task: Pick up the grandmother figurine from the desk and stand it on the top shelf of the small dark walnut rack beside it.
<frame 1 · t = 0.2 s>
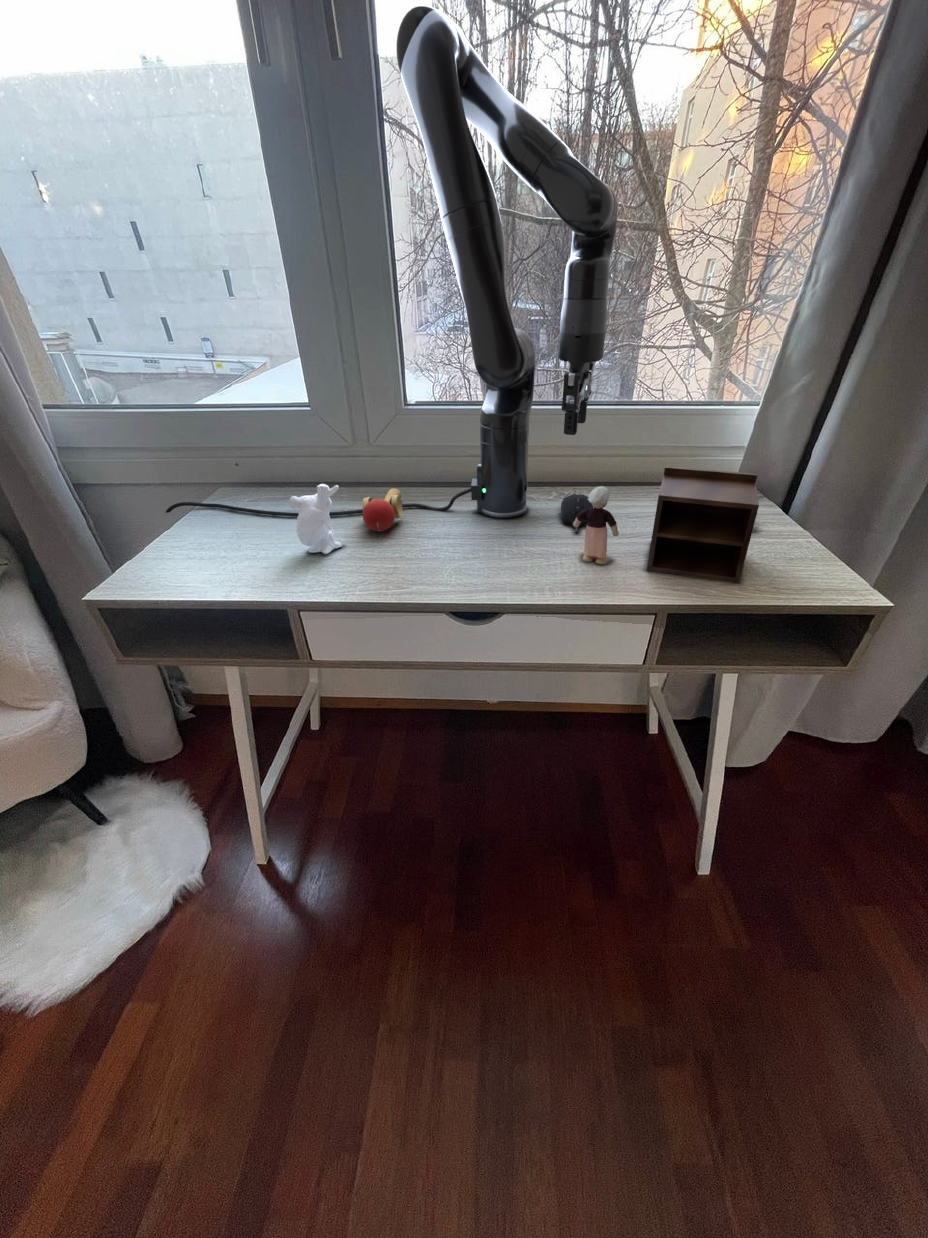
hand: (574, 428, 107), 17 cm above the table, tool pointing down, fingers open, 8 cm apart
grandmother figurine: (592, 560, 100), on the table
rack: (692, 562, 98), on the table
gaming mouse: (576, 519, 115), on the table
soldier figure: (735, 525, 111), on the table
kendama: (386, 518, 118), on the table
koala figurine: (323, 550, 105), on the table
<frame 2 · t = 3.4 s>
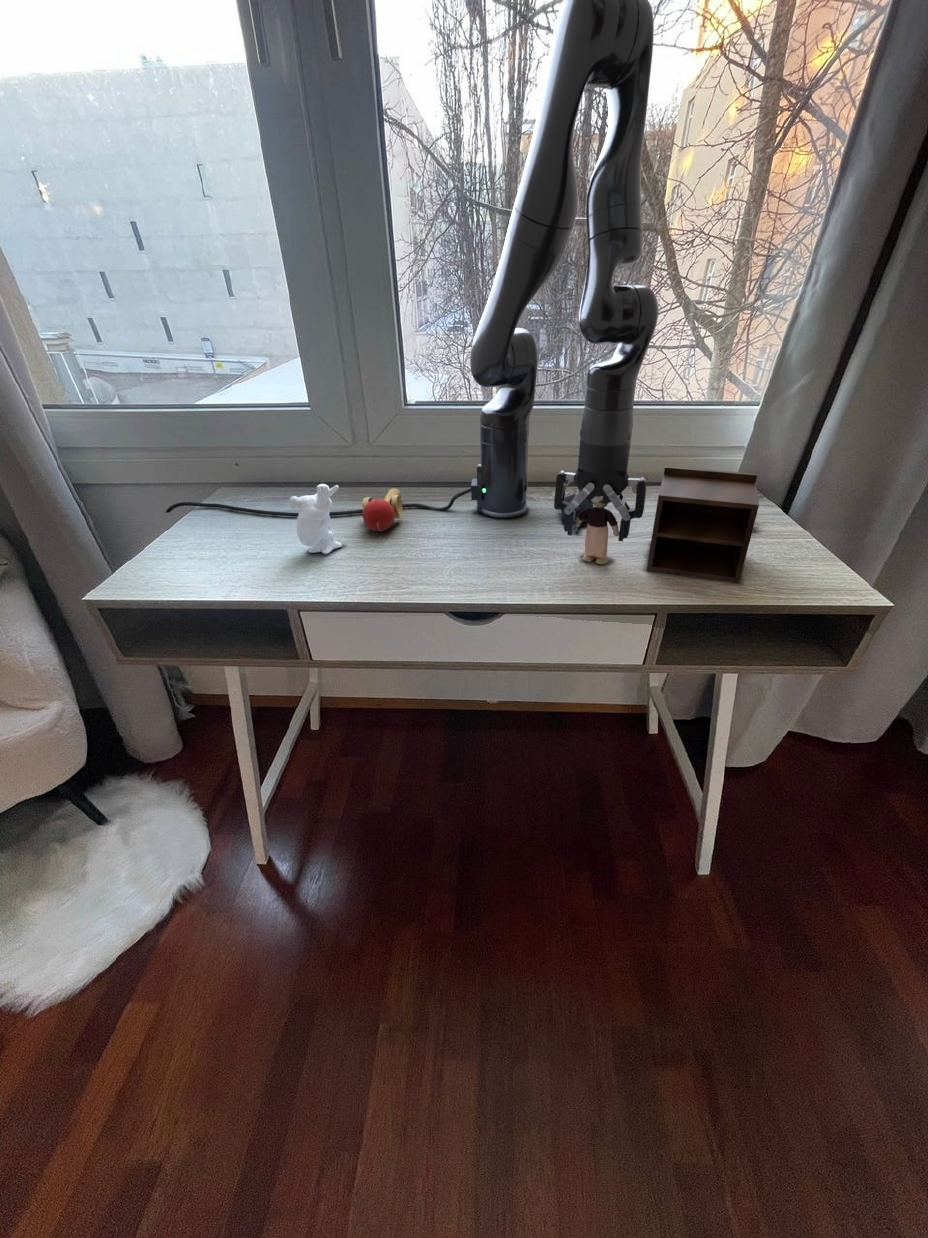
hand: (595, 536, 98), 4 cm above the table, tool pointing down, fingers closed on grandmother figurine, 8 cm apart
grandmother figurine: (592, 560, 100), on the table, touching gripper
everything else where it was.
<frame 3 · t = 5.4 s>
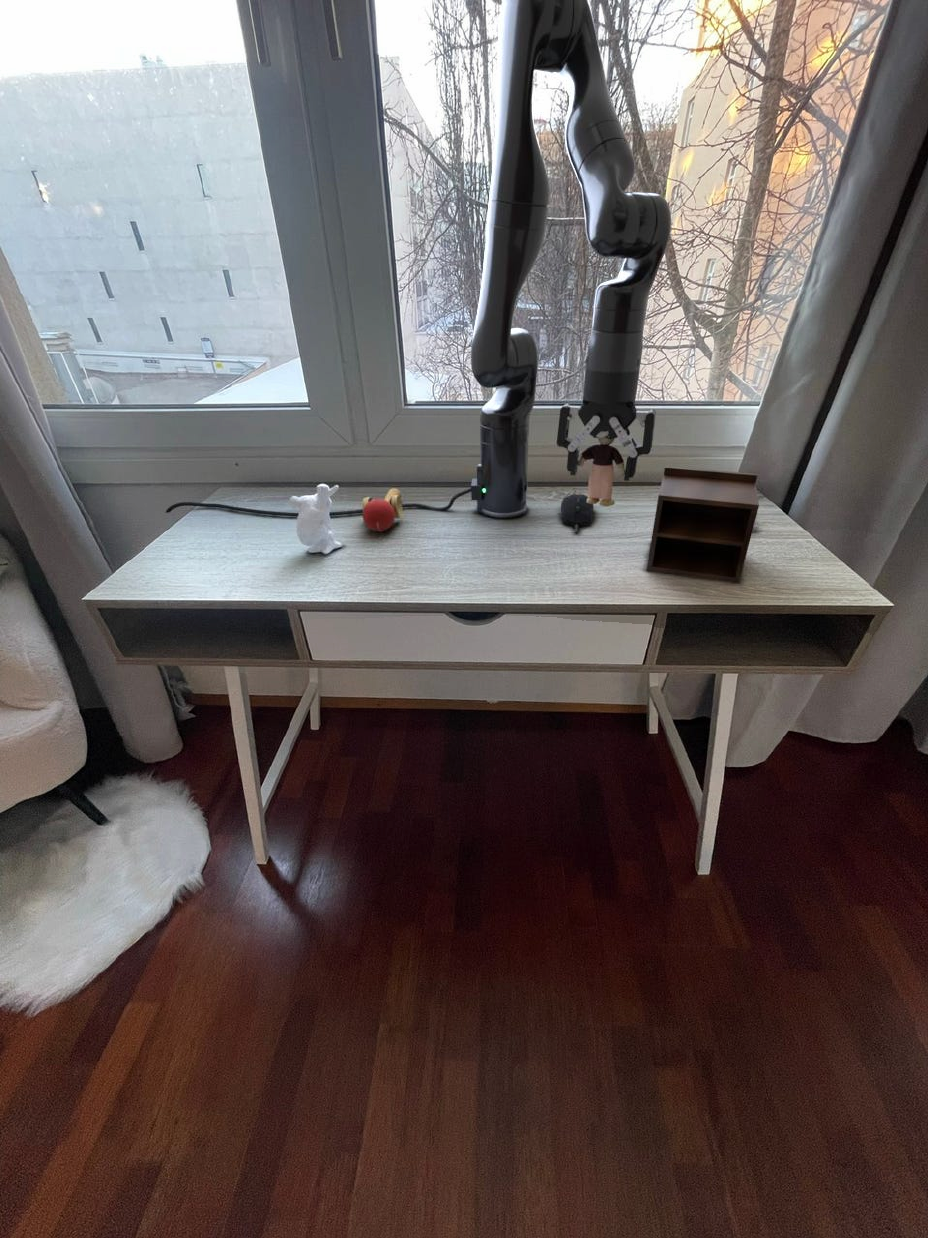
hand: (599, 476, 93), 14 cm above the table, tool pointing down, fingers closed on grandmother figurine, 8 cm apart
grandmother figurine: (596, 502, 95), point 10 cm above the table, touching gripper
everything else where it was.
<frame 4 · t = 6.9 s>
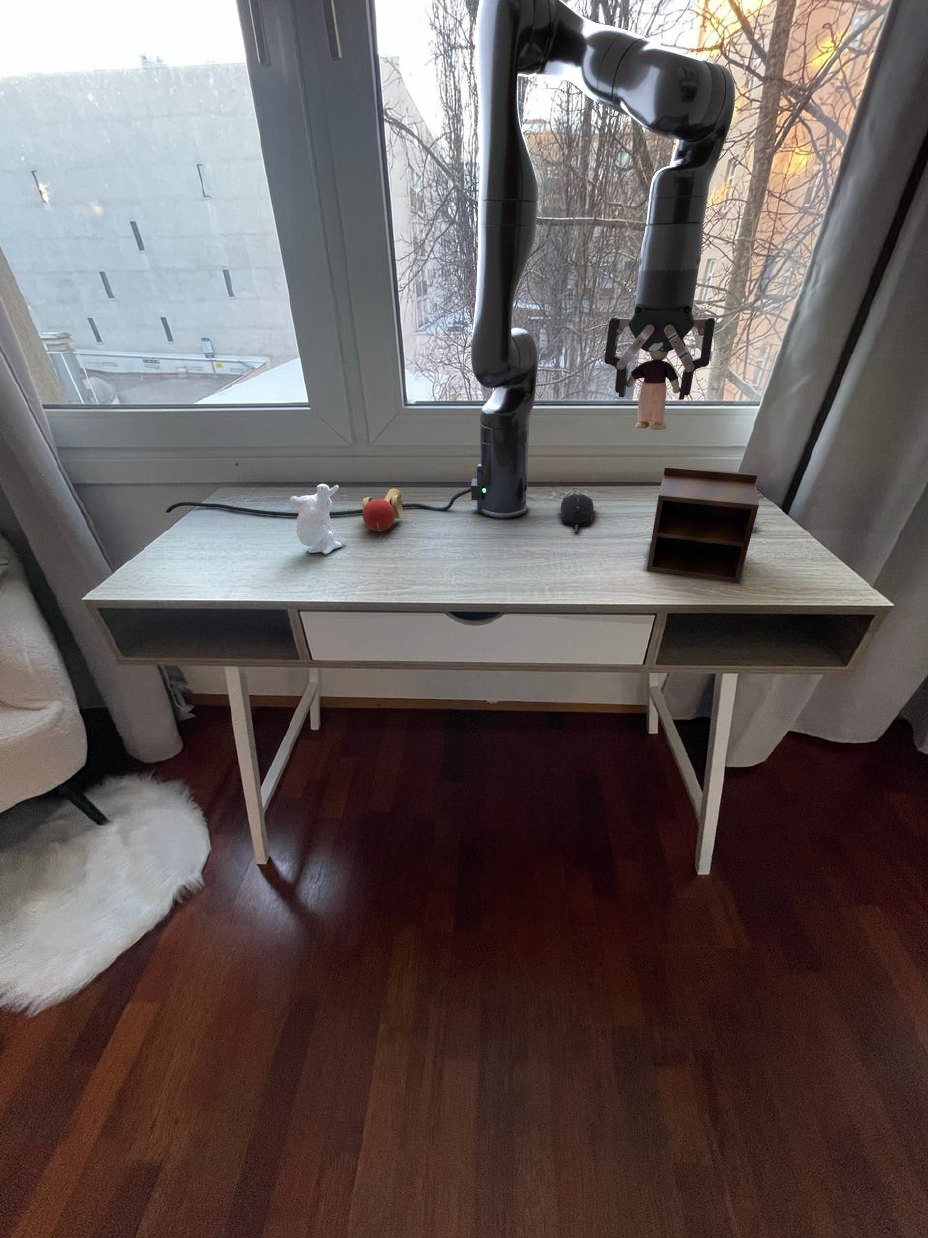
hand: (651, 397, 85), 26 cm above the table, tool pointing down, fingers closed on grandmother figurine, 8 cm apart
grandmother figurine: (646, 428, 88), point 22 cm above the table, touching gripper
everything else where it was.
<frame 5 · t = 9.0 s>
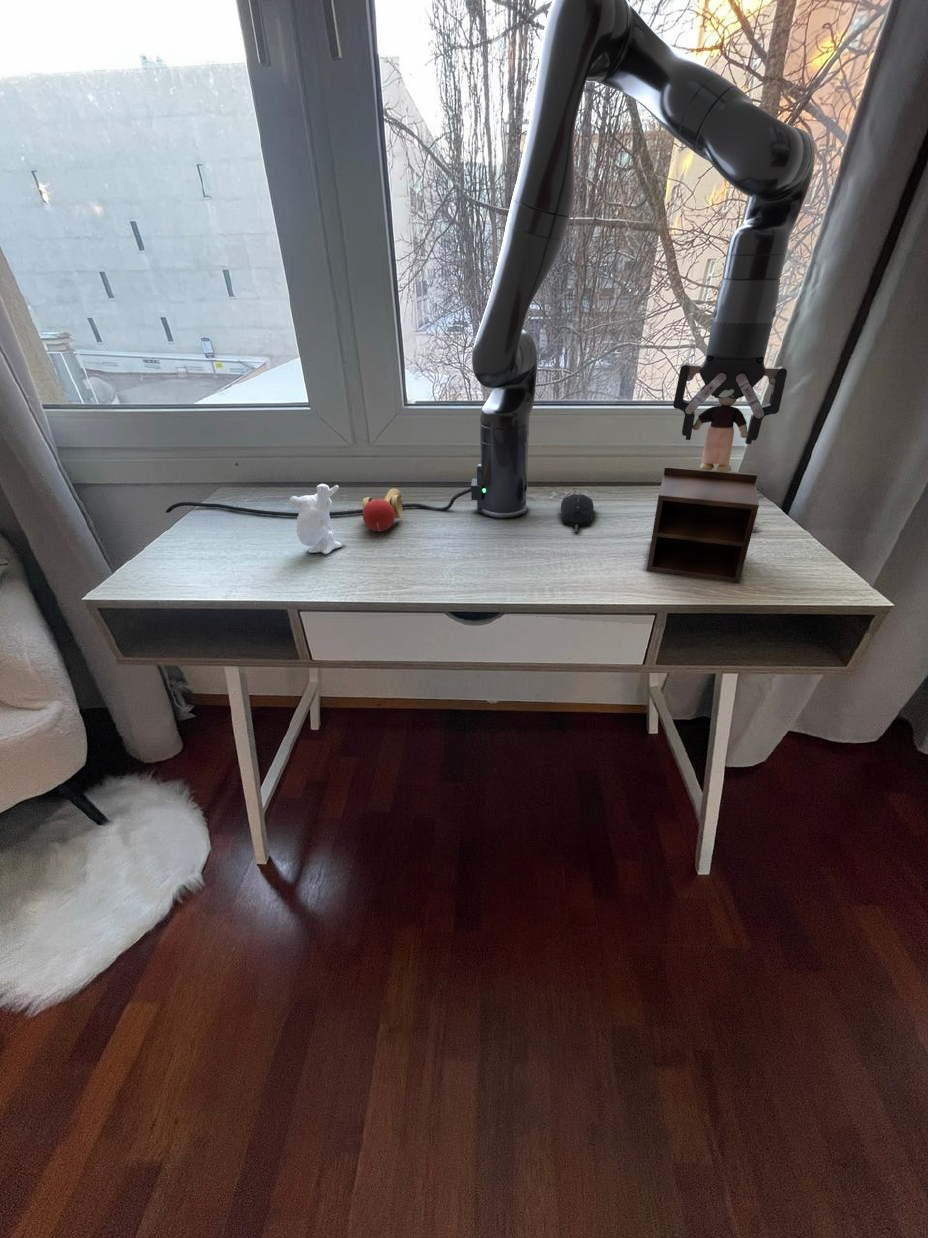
hand: (717, 440, 87), 20 cm above the table, tool pointing down, fingers closed on grandmother figurine, 8 cm apart
grandmother figurine: (710, 469, 90), point 16 cm above the table, touching gripper
everything else where it was.
when the fingers open (17 cm above the table, at t = 10.6 s): grandmother figurine stays where it is, resting on rack.
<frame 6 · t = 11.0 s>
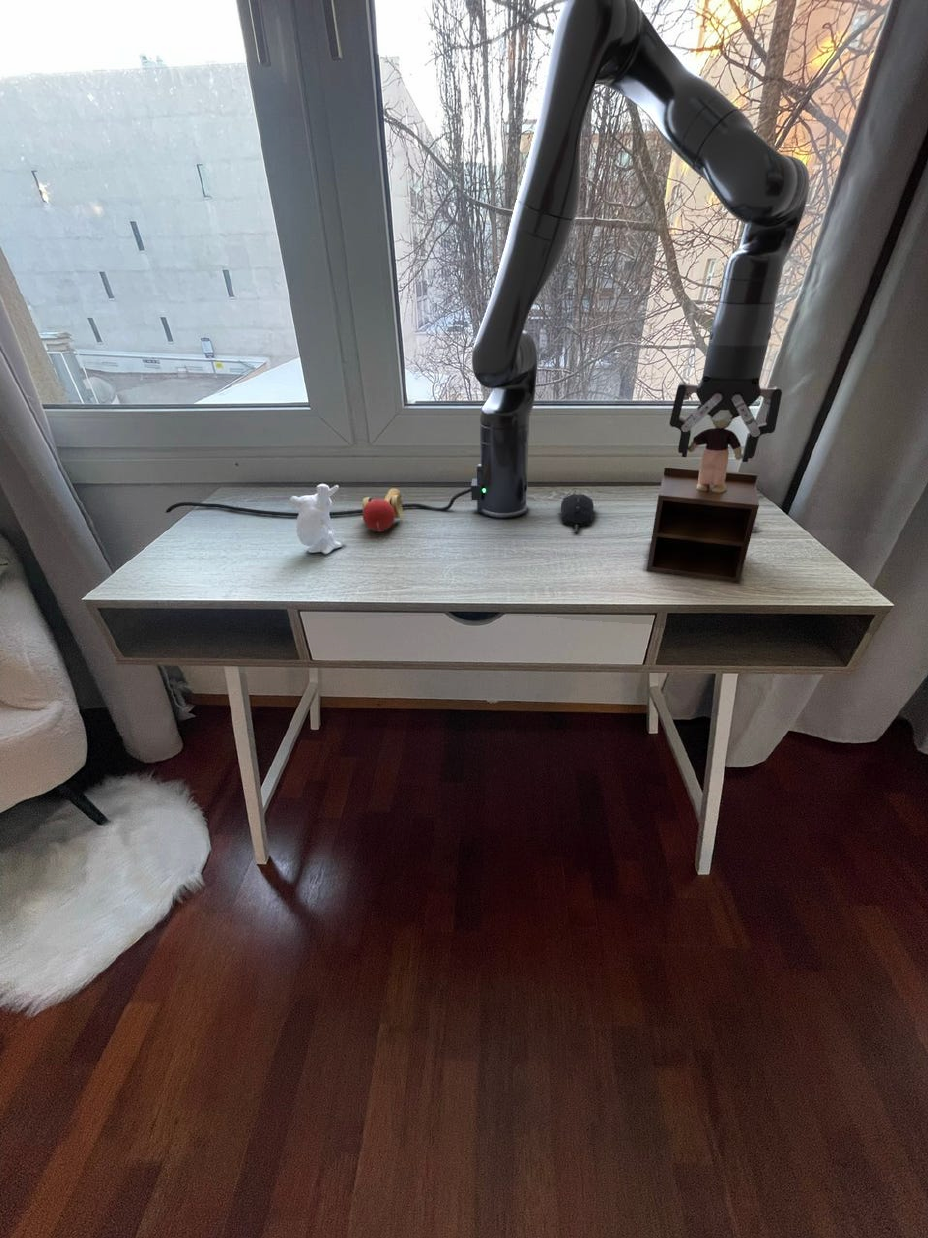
hand: (713, 458, 89), 18 cm above the table, tool pointing down, fingers open, 8 cm apart
grandmother figurine: (706, 489, 91), point 13 cm above the table, touching gripper, rack
everything else where it was.
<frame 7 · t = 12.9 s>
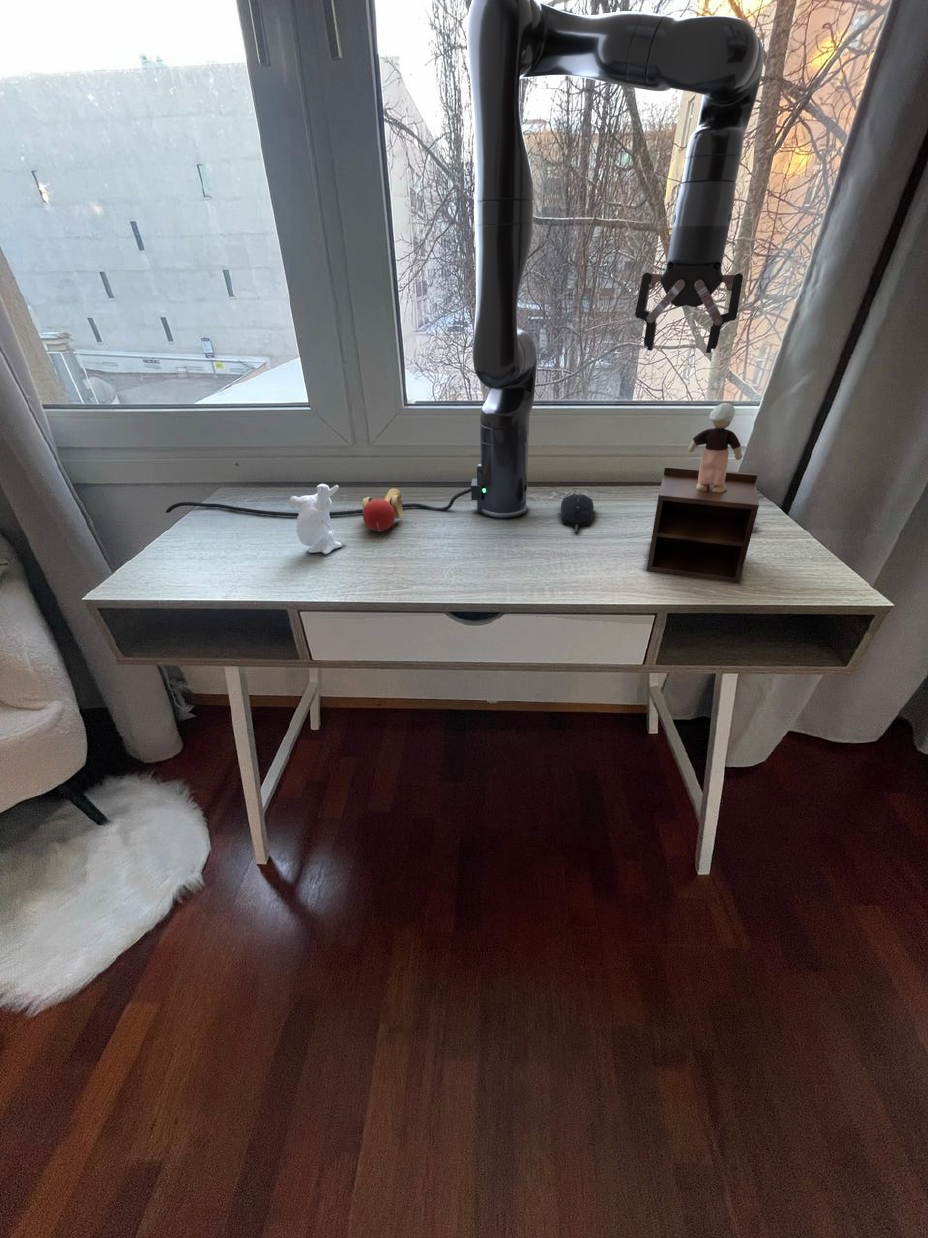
hand: (678, 351, 90), 31 cm above the table, tool pointing down, fingers open, 8 cm apart
grandmother figurine: (706, 489, 91), point 13 cm above the table, touching rack
everything else where it was.
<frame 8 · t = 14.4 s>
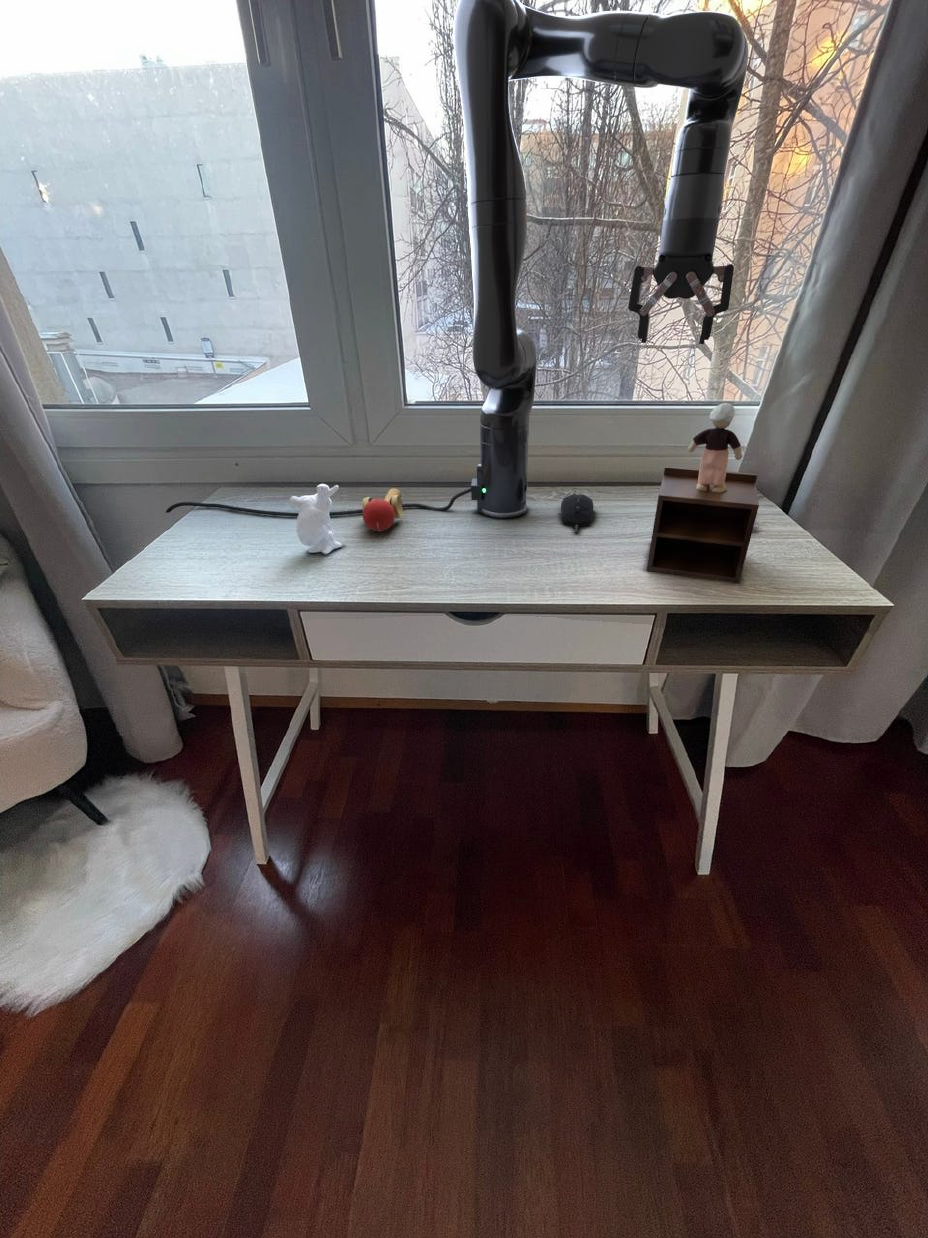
hand: (672, 342, 91), 32 cm above the table, tool pointing down, fingers open, 8 cm apart
nothing on the table moved.
at the end: grandmother figurine inside the target area on the rack (0.2 cm from its centre), point 12.6 cm above the rack's base; grandmother figurine tilted 0°; the gripper is holding nothing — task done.
